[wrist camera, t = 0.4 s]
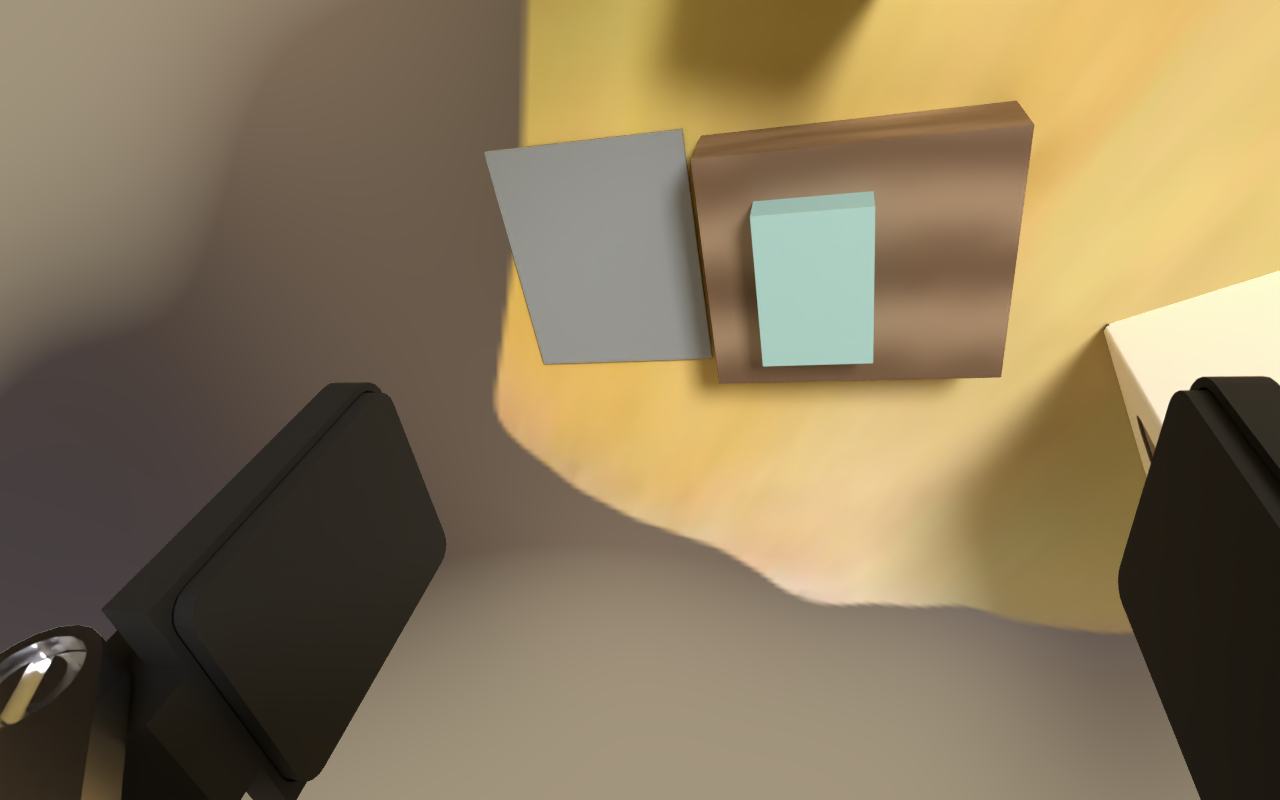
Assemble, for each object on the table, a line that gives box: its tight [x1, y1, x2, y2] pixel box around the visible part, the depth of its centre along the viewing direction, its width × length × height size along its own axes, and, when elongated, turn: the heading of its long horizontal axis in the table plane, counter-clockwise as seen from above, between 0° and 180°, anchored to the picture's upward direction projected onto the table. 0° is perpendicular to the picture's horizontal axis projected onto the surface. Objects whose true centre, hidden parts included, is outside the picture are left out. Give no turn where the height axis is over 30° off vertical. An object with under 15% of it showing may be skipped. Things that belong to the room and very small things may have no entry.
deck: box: [691, 101, 1034, 384], centre depth 41 cm, size 14×16×4 cm
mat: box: [484, 129, 712, 364], centre depth 47 cm, size 15×12×1 cm
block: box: [750, 191, 875, 366], centre depth 40 cm, size 9×6×2 cm, turn 10°
